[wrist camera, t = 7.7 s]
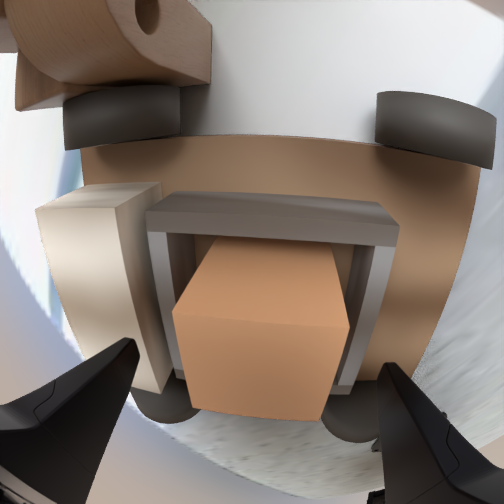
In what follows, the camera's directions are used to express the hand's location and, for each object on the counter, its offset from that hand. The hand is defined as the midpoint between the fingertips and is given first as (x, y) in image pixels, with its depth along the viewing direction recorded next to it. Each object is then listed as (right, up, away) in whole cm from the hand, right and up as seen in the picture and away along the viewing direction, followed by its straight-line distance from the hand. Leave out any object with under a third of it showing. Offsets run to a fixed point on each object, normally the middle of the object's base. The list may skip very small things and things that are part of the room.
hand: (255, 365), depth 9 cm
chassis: (+1, +3, +6) cm, 7 cm away
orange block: (+1, +2, +5) cm, 5 cm away
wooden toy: (-5, +19, 0) cm, 19 cm away
